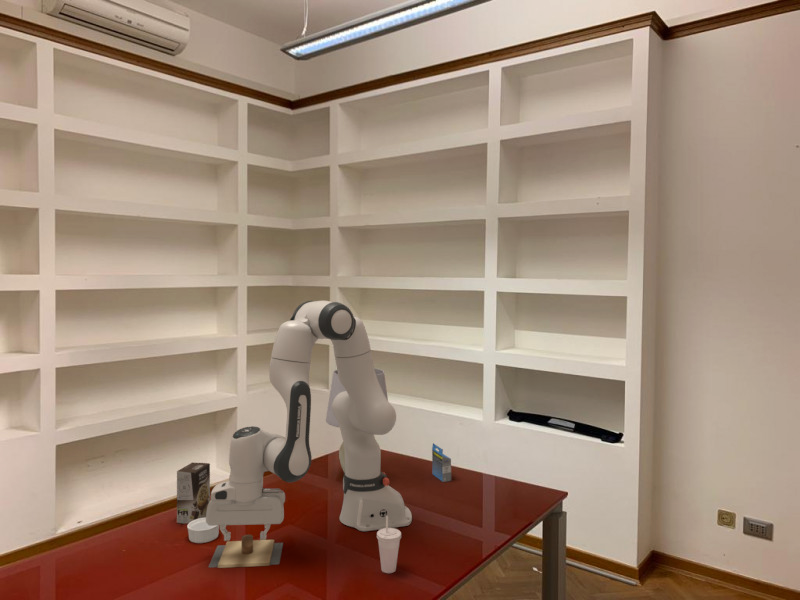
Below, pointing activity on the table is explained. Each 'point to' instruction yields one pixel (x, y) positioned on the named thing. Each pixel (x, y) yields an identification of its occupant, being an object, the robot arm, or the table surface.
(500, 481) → the table surface
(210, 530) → the ramekin
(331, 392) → the lamp
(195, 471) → the coffee box
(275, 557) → the mat
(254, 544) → the lid
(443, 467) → the label tape box
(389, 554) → the smoothie
